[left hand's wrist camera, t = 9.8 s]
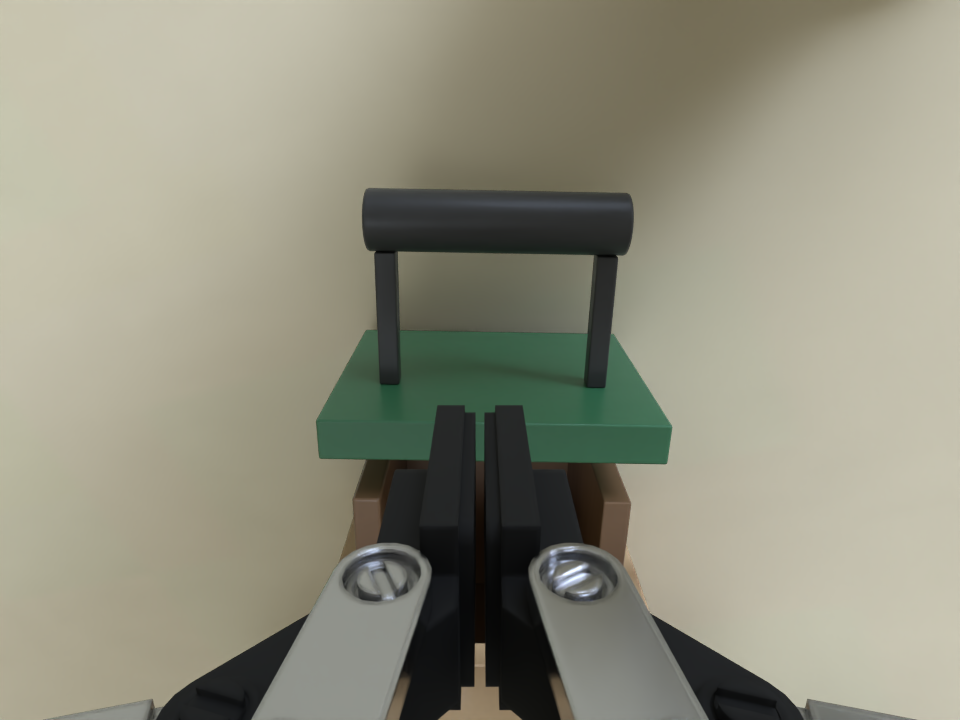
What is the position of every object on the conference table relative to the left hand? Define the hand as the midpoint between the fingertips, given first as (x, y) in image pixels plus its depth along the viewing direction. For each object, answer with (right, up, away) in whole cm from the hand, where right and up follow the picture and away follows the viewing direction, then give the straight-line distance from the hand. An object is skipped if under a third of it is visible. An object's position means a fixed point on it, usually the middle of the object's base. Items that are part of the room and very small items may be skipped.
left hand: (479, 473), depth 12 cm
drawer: (0, +1, +13) cm, 13 cm away
